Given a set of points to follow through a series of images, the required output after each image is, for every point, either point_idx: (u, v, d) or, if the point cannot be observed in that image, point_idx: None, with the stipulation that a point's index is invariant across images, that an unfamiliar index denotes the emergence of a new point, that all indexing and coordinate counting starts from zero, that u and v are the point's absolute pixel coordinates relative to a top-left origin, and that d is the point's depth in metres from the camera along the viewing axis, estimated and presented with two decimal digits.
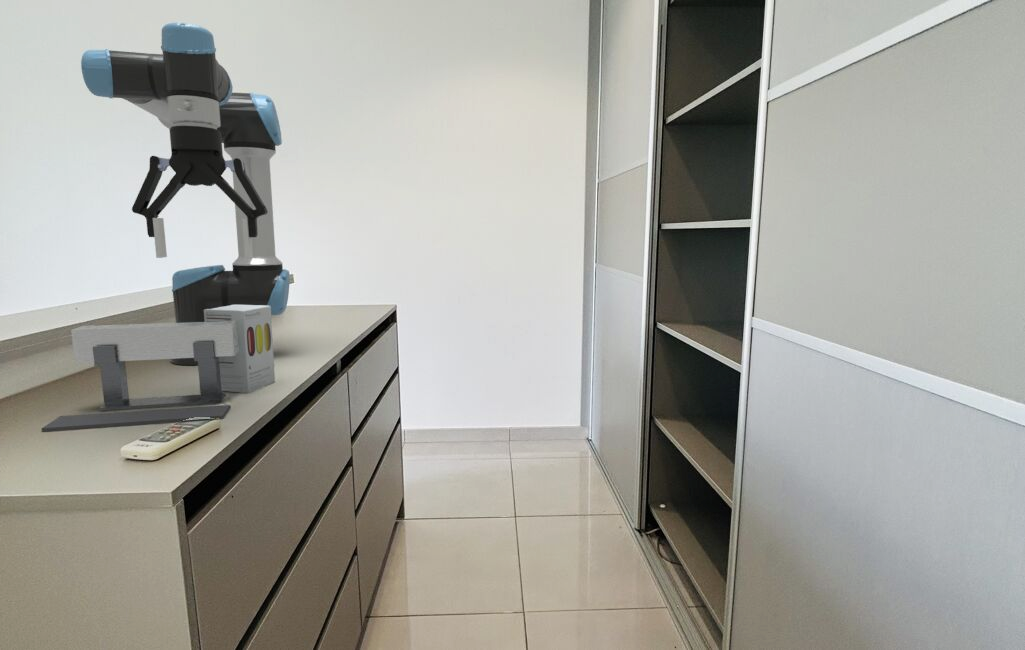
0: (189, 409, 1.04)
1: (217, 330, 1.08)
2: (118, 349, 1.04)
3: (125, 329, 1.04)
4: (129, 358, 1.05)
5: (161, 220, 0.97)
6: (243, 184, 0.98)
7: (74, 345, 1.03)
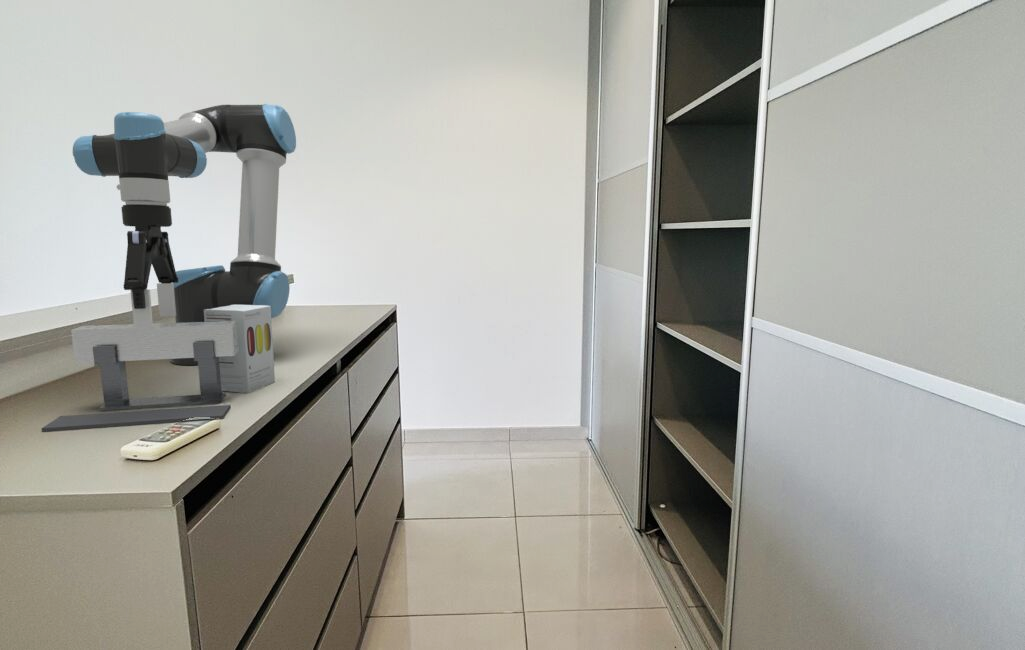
0: (189, 409, 1.04)
1: (217, 330, 1.08)
2: (118, 349, 1.04)
3: (125, 329, 1.04)
4: (129, 358, 1.05)
5: (166, 285, 1.12)
6: None
7: (74, 345, 1.03)
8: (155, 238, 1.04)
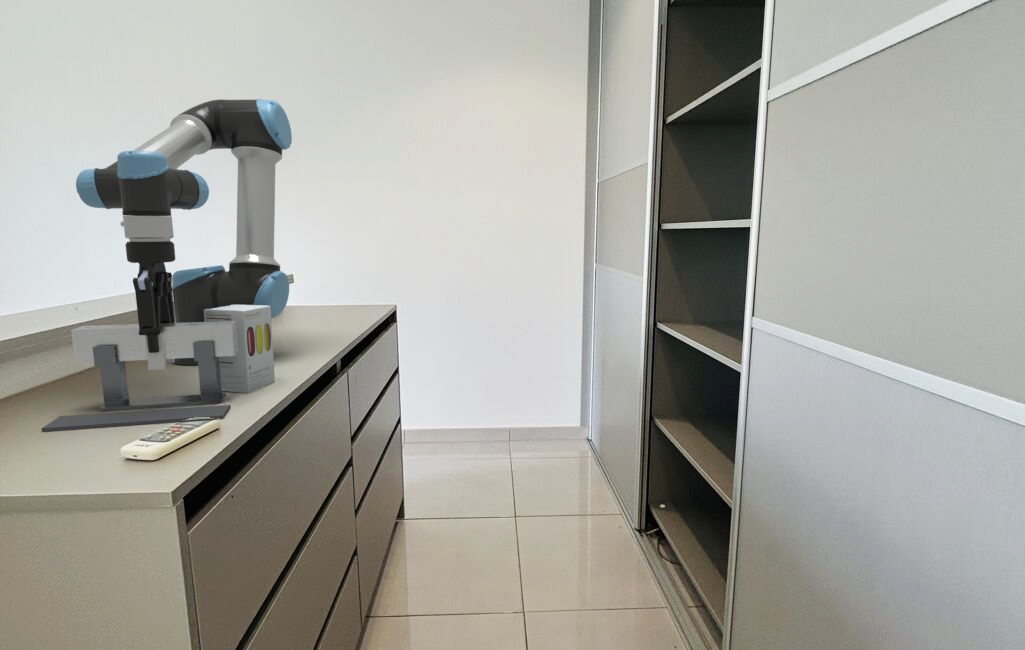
0: (189, 409, 1.04)
1: (217, 330, 1.08)
2: (118, 349, 1.04)
3: (125, 329, 1.04)
4: (129, 358, 1.05)
5: None
6: None
7: (74, 345, 1.03)
8: (159, 275, 1.05)
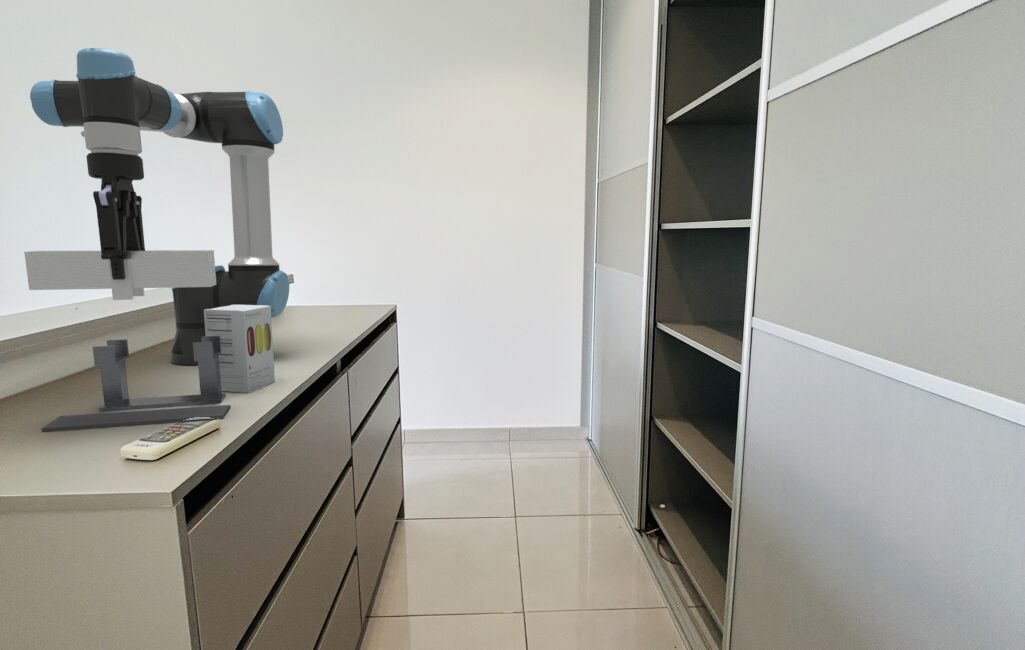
0: (189, 409, 1.04)
1: (191, 257, 0.97)
2: (79, 275, 0.93)
3: (86, 253, 0.93)
4: (91, 286, 0.94)
5: None
6: None
7: (28, 269, 0.91)
8: (124, 193, 0.93)
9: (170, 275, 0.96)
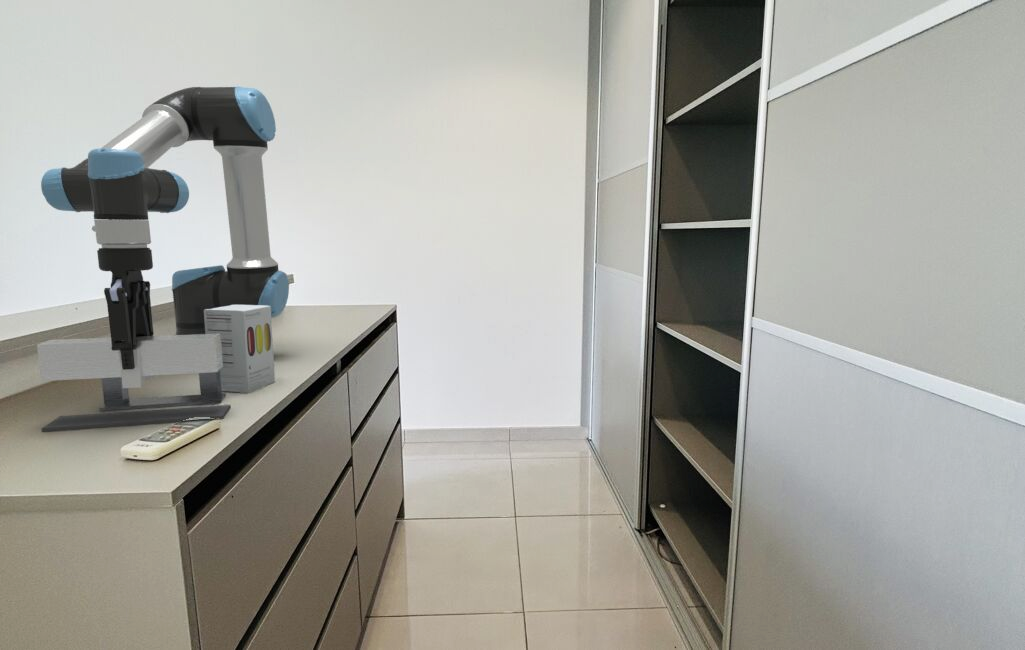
0: (189, 409, 1.04)
1: (199, 344, 0.99)
2: (90, 365, 0.95)
3: (97, 343, 0.95)
4: (101, 375, 0.96)
5: None
6: None
7: (40, 361, 0.94)
8: (134, 285, 0.96)
9: (178, 362, 0.99)
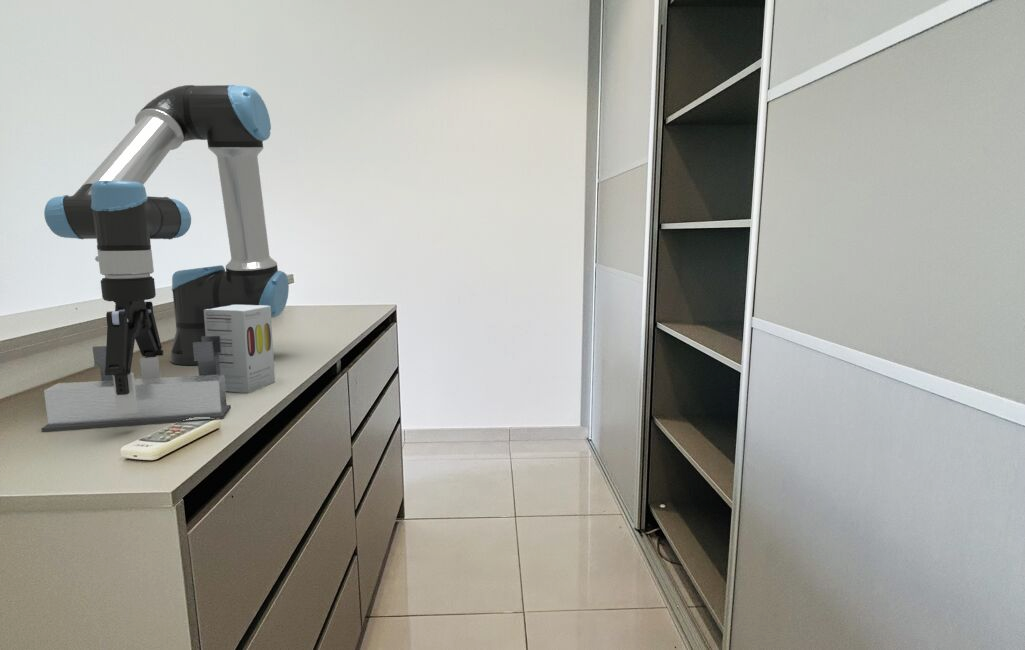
0: None
1: (203, 387, 1.01)
2: (96, 409, 0.97)
3: (103, 388, 0.97)
4: (107, 419, 0.98)
5: (150, 359, 1.05)
6: None
7: (47, 406, 0.95)
8: (137, 313, 0.96)
9: (183, 405, 1.00)
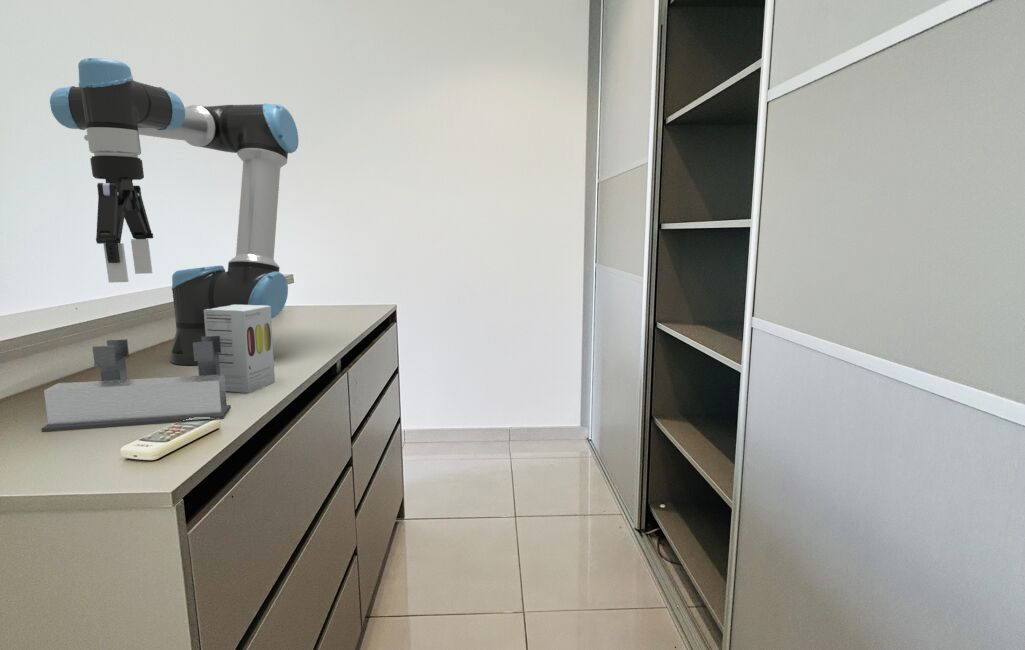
0: None
1: (203, 387, 1.01)
2: (96, 409, 0.97)
3: (103, 388, 0.97)
4: (107, 419, 0.98)
5: (141, 241, 1.10)
6: None
7: (47, 406, 0.95)
8: (127, 191, 1.01)
9: (183, 405, 1.00)
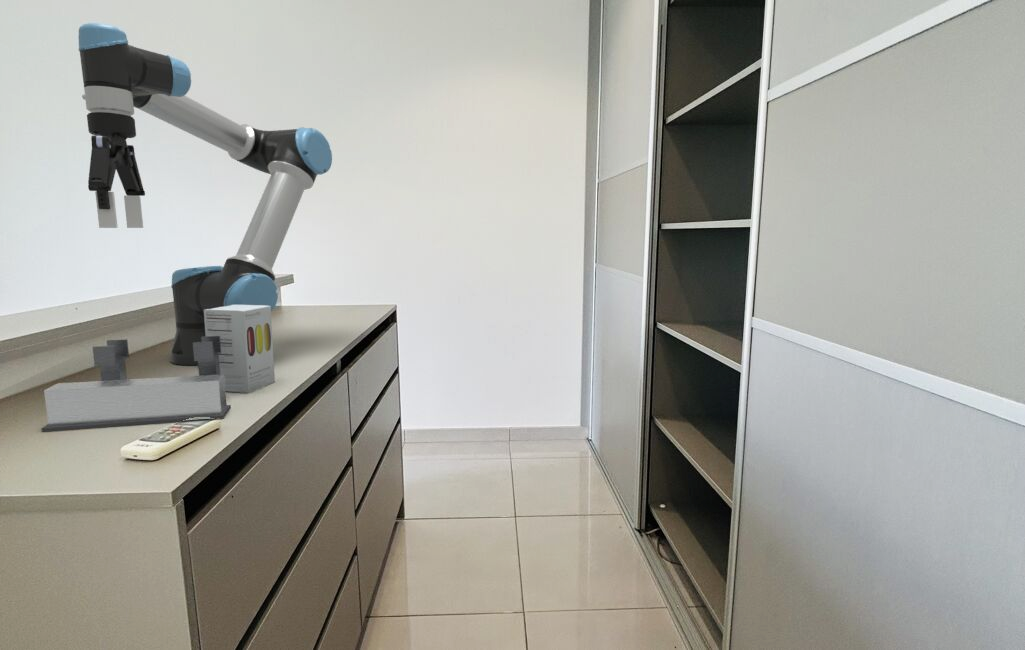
0: None
1: (203, 387, 1.01)
2: (96, 409, 0.97)
3: (103, 388, 0.97)
4: (107, 419, 0.98)
5: (133, 197, 1.19)
6: None
7: (47, 406, 0.95)
8: (119, 146, 1.10)
9: (183, 405, 1.00)
